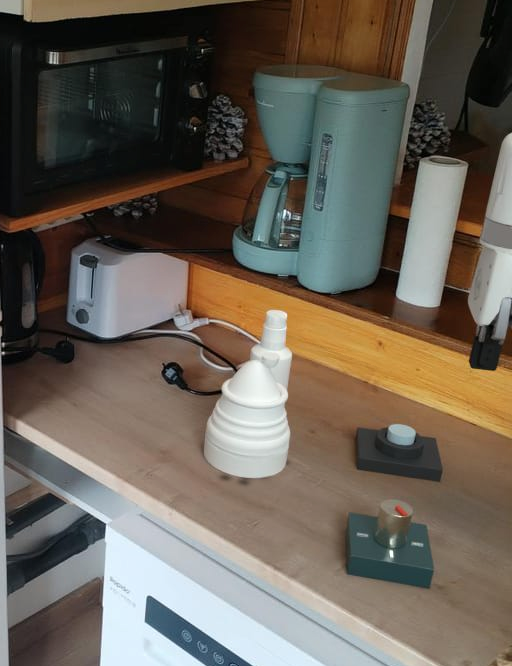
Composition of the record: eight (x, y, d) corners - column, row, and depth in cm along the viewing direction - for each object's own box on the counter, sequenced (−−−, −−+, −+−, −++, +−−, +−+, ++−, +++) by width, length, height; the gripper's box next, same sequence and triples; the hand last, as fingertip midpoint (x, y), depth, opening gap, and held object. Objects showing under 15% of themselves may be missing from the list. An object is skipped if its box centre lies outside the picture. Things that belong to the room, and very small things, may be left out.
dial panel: (422, 542, 123) (426, 523, 122) (429, 588, 115) (434, 568, 113) (345, 530, 126) (349, 511, 124) (347, 574, 117) (351, 554, 116)
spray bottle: (257, 396, 162) (270, 302, 154) (291, 409, 158) (305, 313, 150) (236, 408, 158) (247, 313, 150) (270, 422, 153) (283, 324, 145)
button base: (433, 449, 146) (438, 428, 144) (439, 482, 137) (445, 459, 135) (355, 438, 149) (359, 417, 147) (356, 469, 140) (361, 447, 138)
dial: (367, 532, 120) (374, 498, 118) (394, 528, 121) (402, 495, 119) (384, 550, 117) (391, 516, 114) (412, 546, 117) (420, 512, 115)
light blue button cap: (412, 435, 142) (414, 426, 142) (414, 448, 139) (416, 438, 138) (385, 431, 143) (387, 422, 143) (387, 444, 140) (389, 434, 139)
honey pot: (295, 448, 146) (311, 346, 138) (274, 486, 136) (290, 379, 128) (217, 428, 151) (229, 329, 143) (192, 464, 141) (203, 360, 133)
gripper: (473, 215, 120) (445, 342, 128) (491, 249, 107) (458, 387, 115) (536, 220, 118) (503, 348, 126) (561, 255, 105) (523, 395, 113)
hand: (482, 366), depth 120 cm, fingers closed
